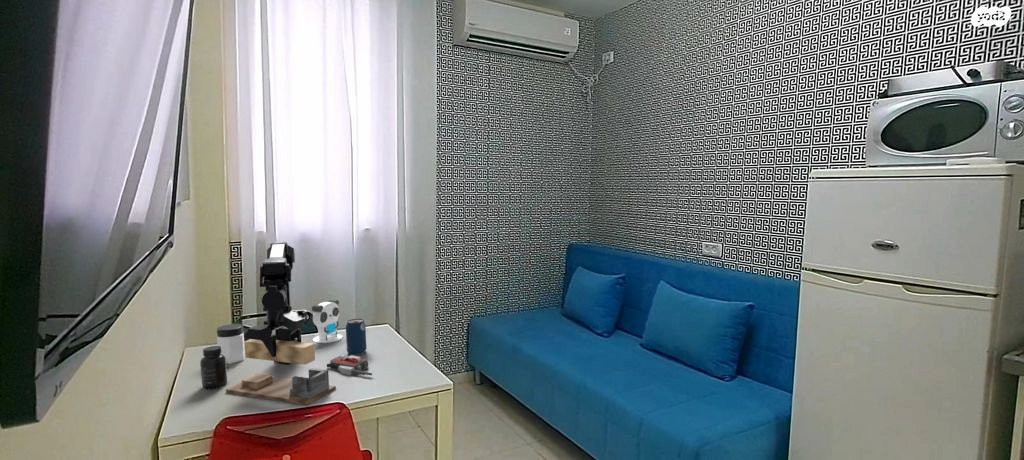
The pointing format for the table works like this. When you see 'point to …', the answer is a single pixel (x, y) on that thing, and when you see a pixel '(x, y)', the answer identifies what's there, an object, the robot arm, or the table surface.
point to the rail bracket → (286, 387)
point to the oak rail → (281, 351)
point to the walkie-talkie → (349, 365)
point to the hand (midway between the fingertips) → (279, 354)
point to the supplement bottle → (213, 368)
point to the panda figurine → (326, 321)
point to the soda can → (356, 336)
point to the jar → (231, 342)
